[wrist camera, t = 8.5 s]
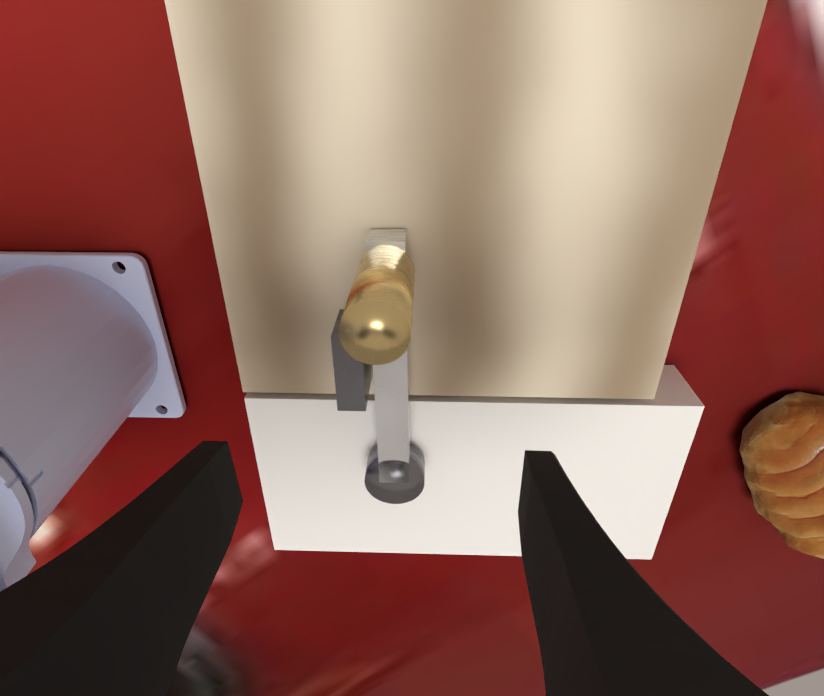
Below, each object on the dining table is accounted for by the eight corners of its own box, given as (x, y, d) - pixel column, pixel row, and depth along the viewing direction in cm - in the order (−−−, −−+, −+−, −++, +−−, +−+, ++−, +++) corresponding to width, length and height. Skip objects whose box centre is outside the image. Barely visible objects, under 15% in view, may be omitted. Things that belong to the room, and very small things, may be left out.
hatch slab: (263, 352, 23) (242, 392, 21) (198, -37, 16) (154, -50, 14) (629, 358, 23) (654, 399, 20) (725, -40, 16) (782, -54, 13)
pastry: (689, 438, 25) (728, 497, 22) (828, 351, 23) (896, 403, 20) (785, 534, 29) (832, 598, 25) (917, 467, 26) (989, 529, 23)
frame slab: (288, 502, 28) (274, 549, 26) (264, 358, 24) (244, 398, 21) (630, 510, 28) (651, 559, 25) (673, 364, 23) (704, 406, 20)
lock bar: (424, 483, 23) (422, 592, 18) (369, 482, 23) (354, 591, 18) (425, 229, 17) (422, 297, 13) (350, 229, 17) (322, 297, 13)
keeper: (345, 379, 20) (337, 410, 19) (339, 309, 19) (330, 336, 17) (371, 379, 20) (365, 411, 19) (368, 309, 19) (361, 336, 17)
